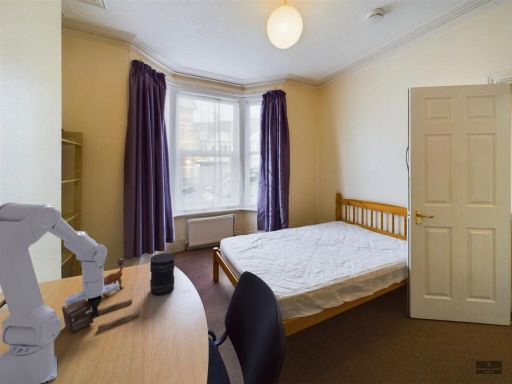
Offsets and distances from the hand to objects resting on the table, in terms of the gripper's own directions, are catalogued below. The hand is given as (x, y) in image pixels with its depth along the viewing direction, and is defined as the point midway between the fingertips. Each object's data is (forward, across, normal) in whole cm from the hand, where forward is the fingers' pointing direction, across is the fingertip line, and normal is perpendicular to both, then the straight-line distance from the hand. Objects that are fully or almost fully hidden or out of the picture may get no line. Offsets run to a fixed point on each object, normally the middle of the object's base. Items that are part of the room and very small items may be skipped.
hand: (95, 316), depth 74 cm
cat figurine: (+3, -5, -18) cm, 18 cm away
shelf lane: (+2, -6, 0) cm, 7 cm away
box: (+2, +4, -2) cm, 5 cm away
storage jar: (+3, -25, -7) cm, 26 cm away
